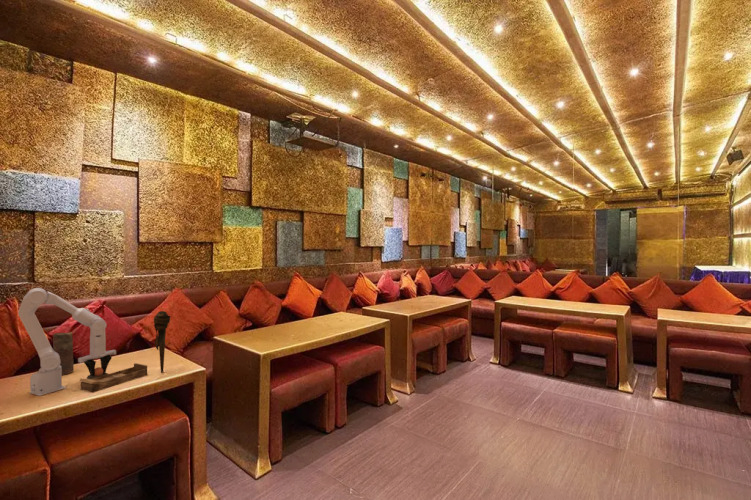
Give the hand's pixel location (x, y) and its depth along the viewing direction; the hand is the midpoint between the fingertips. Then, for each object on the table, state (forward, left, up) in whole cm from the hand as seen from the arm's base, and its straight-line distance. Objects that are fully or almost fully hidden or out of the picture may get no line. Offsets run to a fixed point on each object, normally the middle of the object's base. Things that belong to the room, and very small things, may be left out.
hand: (97, 374), depth 164 cm
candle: (-1, +27, -3) cm, 27 cm away
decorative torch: (+19, -17, -3) cm, 26 cm away
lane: (+2, -9, -3) cm, 10 cm away
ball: (0, 0, +1) cm, 1 cm away
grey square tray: (0, 0, -3) cm, 3 cm away
